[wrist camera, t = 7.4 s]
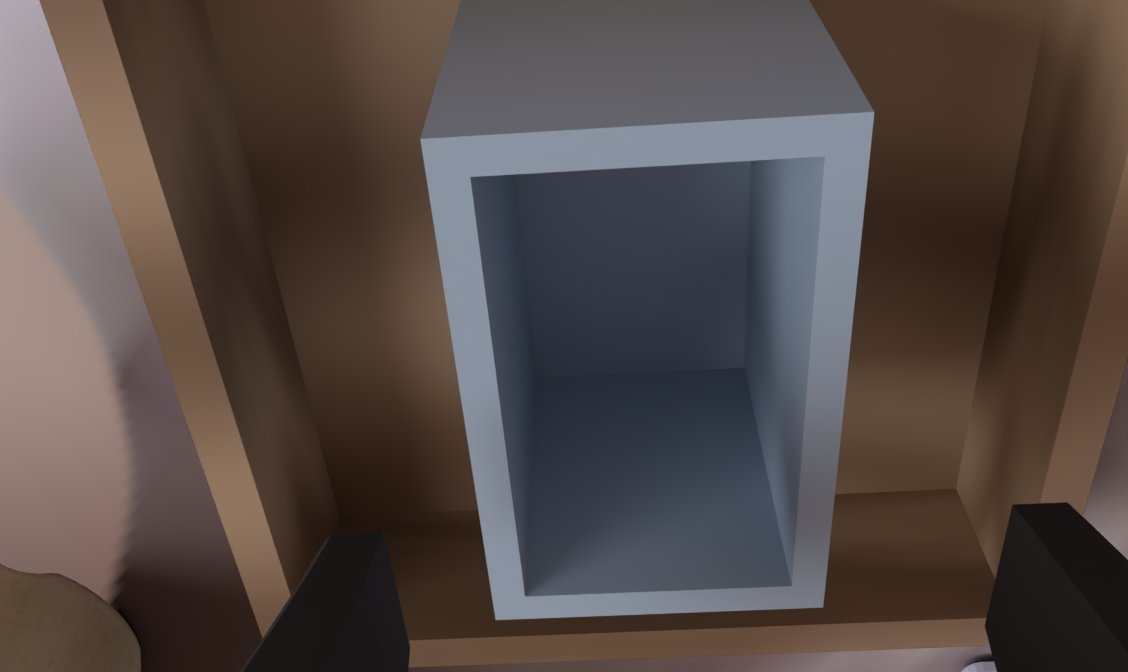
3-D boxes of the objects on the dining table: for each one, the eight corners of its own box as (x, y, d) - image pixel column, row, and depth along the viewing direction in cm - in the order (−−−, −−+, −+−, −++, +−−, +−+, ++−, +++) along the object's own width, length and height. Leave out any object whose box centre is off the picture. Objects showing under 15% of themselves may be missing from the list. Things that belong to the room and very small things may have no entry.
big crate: (974, 482, 24) (1046, 643, 20) (319, 512, 25) (274, 672, 21) (1142, -361, 15) (1330, -349, 11) (102, -276, 16) (-44, -238, 12)
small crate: (765, 371, 21) (823, 607, 16) (514, 384, 21) (495, 619, 16) (785, -41, 17) (874, 111, 12) (466, -20, 17) (420, 139, 12)
